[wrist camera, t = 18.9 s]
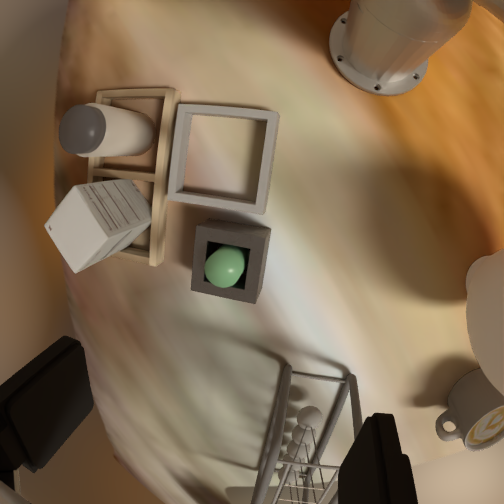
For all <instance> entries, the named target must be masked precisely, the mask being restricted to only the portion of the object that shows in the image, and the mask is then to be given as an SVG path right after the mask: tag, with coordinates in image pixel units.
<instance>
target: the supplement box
mask: <svg viewBox="0 0 504 504" xmlns="http://www.w3.org/2000/svg"><path fill="white" fill-rule="evenodd" d="M151 219H152V207H151V206H150V204H149V203H148V201H147V200H146V199H145V197H144V196H143V194H142V193H141V192H140V190H139V189H138V188H137V186H136V185H135V183H134V182H133V181H132V180H131V179H117V180H109V181H102V182H95V183H88V184H81V185H75V186H73V187H72V189H71V190H70V191H69V193H68V194H67V195H66V196H65V198H64V199H63V200H62V202H61V203H60V204H59V206H58V207H57V208H56V210H55V211H54V212H53V214H52V215H51V217H50V218H49V220H48V221H47V222H46V224H45V225H44V226H45V228H46V230H47V231H48V233H49V235H50V236H51V238H52V240H53V241H54V243H55V244H56V246H57V248H58V249H59V251H60V252H61V254H62V255H63V257H64V258H65V260H66V261H67V263H68V264H69V266H70V267H71V269H72V270H73V272H74V273H77V272H79V271H81V270H83V269H85V268H87V267H89V266H91V265H93V264H95V263H97V262H98V261H100V260H102V259H104V258H106V257H108V256H110V255H112V254H114V253H116V252H118V251H120V250H122V249H124V248H126V247H128V246H129V245H130V244H131V243H132V242H133V241H134V240H135V239H136V238H137V237H138V236H139V235H140V234H141V233H142V232H143V231H144V230H145V229H146V228H148V227H149V226H150V225H151Z"/></svg>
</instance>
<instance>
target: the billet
mask: <svg viewBox="0 0 504 504" xmlns="http://www.w3.org/2000/svg"><path fill="white" fill-rule="evenodd" d="M155 137H156V128H155V124H154V122H153V120H152V119H151V118H150V117H149V116H148V115H146V114H143V113H138V112H134V111H130V110H125V109H121V108H116V107H111V106H106V105H102V104H96V103H88V104H85V105H75V106H73V107H71V108H70V109H69V110H68V111H67V112H66V113H65V114H64V116H63V118H62V120H61V123H60V127H59V139H60V143H61V145H62V147H63V149H64V150H65V151H67V152H68V153H71V154H77V155H79V156H81V157H104V156H139V155H142V154H144V153H146V152H147V151H148V150H149V149H150V148H151V147H152V145H153V143H154V141H155Z"/></svg>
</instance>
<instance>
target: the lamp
mask: <svg viewBox="0 0 504 504" xmlns="http://www.w3.org/2000/svg"><path fill="white" fill-rule="evenodd" d="M466 290H467V294H468V295H467V304H466V319H467V329H468V334H469V338H470V342H471V346H472V350H473V352H474V355H475V357H476V359H477V361H478V363H479V365H480V367H481V369H482V371H483V373H484V374H485V376H486V377H487V379H488V380H489V381H490V382H491V383H492V385H493V386H494V387H495V388H496V389H497V390H498V391H499V392H500V393H501V394H502V395H503V396H504V249H502V250H499V251H497V252H496V253H494V254H493V255H491V256H483V257H481V258H479V259H477V260H476V261H475V262H474V263H473V264H472V265H471V266H470V268H469V270H468V273H467V276H466Z"/></svg>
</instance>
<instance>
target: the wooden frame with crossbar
mask: <svg viewBox="0 0 504 504" xmlns="http://www.w3.org/2000/svg"><path fill="white" fill-rule="evenodd" d="M180 98H181V92H180V91H178V90H176V89H174V88H151V89H121V90H105V91H97V95H96V102H95V103H96V104H102V105H106V106H111V100H121V99H165V101H164V107H163V114H162V121H161V128H160V136H159V144H158V153H157V162H156V171H155V172H146V171H136V170H125V169H114V168H104V157H89V162H88V176H87V184H88V183H95V182H102V181H103V177H112V178H122V179H131V180H140V181H149V182H154V193H153V205H152V219H151V236H150V251H146V250H141V249H136V248H131V247H126V248H124V249H122V250H120V251H118V252H116V253H114V254H112V255H110V256H112V257H116V258H120V259H125V260H129V261H133V262H138V263H142V264H146V265H151V266H155V267H156V266H157V265H159V264H160V263H162V262H163V261H164V246H165V231H166V217H167V205H168V200H167V196H168V186H169V176H170V166H171V158H172V149H173V141H174V133H175V126H176V119H177V112H178V105H179V104H180Z"/></svg>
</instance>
